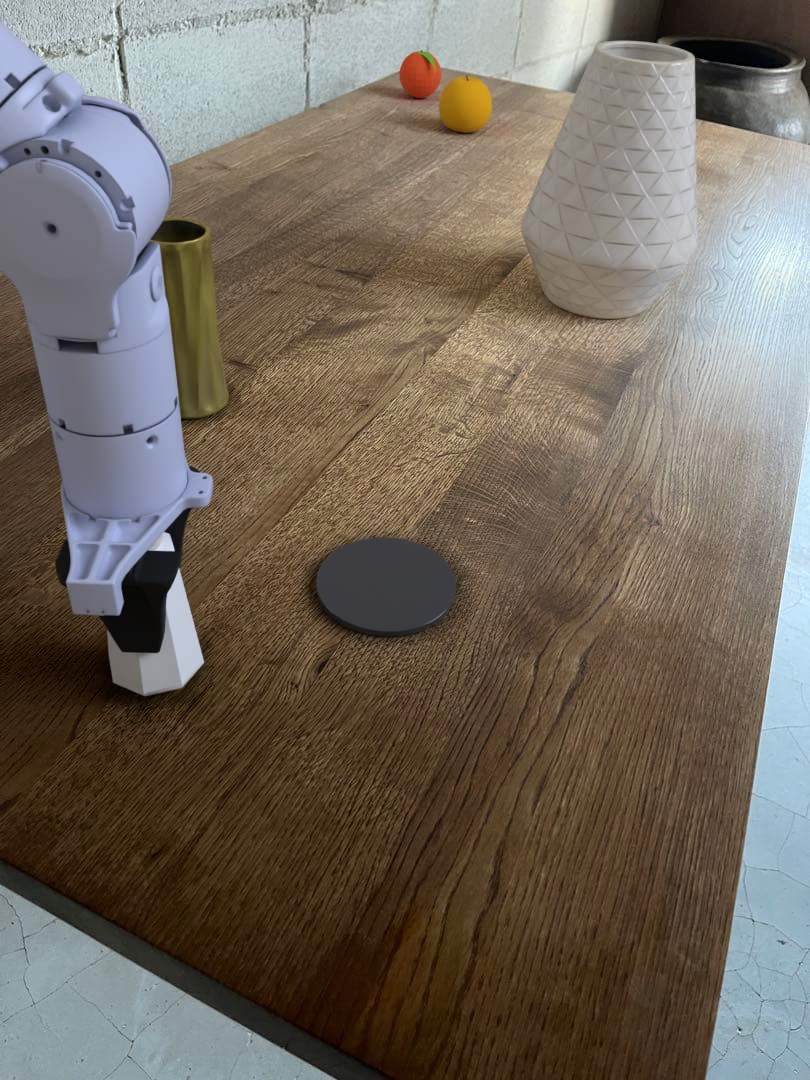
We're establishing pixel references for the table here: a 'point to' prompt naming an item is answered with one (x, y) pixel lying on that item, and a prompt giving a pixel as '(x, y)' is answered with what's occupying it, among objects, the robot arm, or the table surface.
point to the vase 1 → (192, 315)
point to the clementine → (420, 74)
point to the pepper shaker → (176, 651)
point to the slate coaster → (386, 586)
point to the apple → (465, 104)
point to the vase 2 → (619, 184)
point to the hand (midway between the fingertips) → (149, 619)
